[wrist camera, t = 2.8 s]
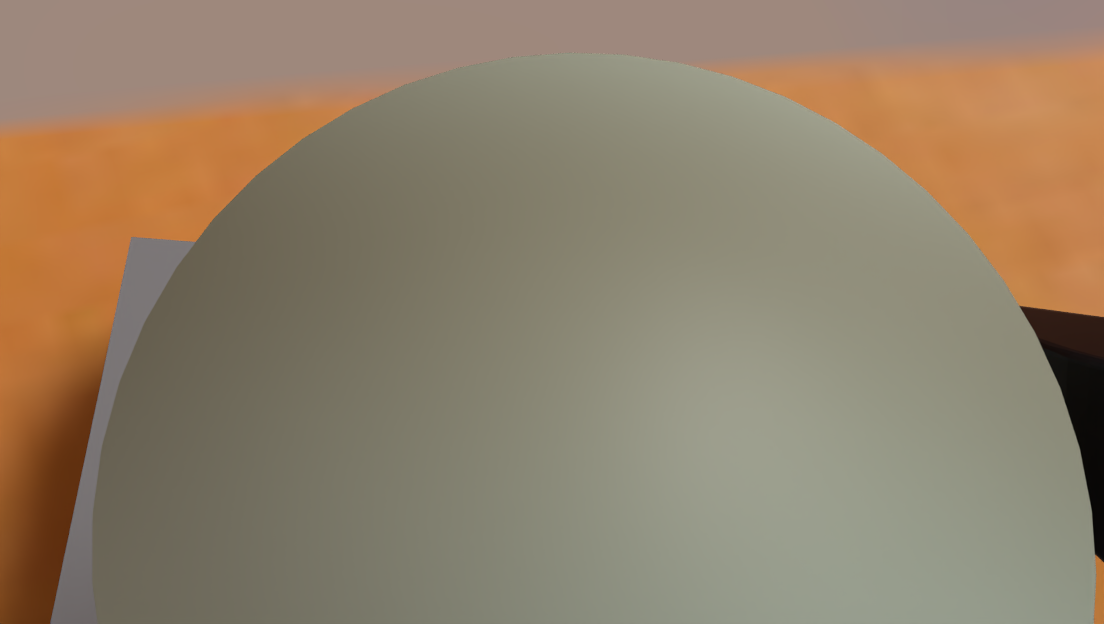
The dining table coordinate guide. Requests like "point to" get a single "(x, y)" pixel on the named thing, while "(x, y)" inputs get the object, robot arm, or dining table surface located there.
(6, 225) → the dining table surface
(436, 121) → the peg
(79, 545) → the pocket board
